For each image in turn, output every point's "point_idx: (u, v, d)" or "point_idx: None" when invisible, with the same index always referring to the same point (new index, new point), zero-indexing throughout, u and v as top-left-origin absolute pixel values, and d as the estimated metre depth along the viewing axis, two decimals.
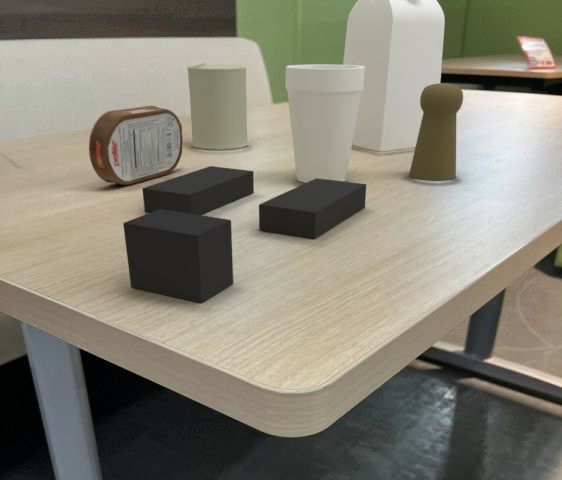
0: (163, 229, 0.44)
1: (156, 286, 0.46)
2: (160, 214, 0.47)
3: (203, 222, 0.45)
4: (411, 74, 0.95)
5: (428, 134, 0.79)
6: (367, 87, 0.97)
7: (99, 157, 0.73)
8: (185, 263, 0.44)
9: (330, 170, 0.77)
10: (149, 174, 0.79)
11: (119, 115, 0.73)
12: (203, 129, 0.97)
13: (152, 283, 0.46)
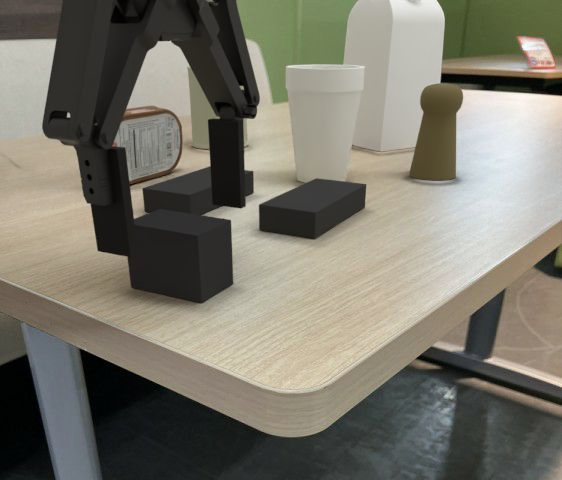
0: (163, 229, 0.44)
1: (156, 286, 0.46)
2: (160, 214, 0.47)
3: (203, 222, 0.45)
4: (411, 74, 0.95)
5: (428, 134, 0.79)
6: (367, 87, 0.97)
7: None
8: (185, 263, 0.44)
9: (330, 170, 0.77)
10: (149, 174, 0.79)
11: None
12: (203, 129, 0.97)
13: (152, 283, 0.46)
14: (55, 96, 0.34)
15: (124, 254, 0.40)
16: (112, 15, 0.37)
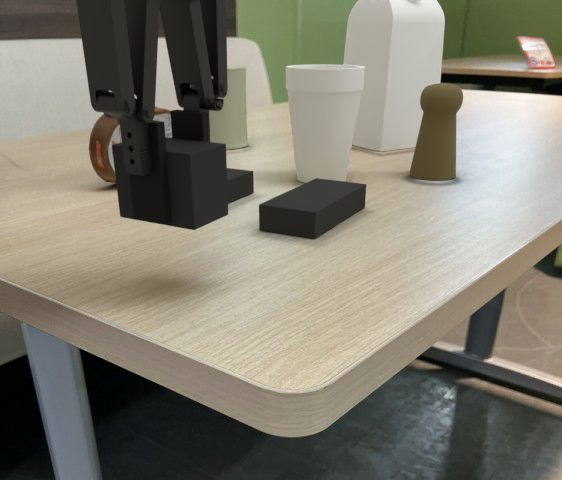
0: None
1: None
2: None
3: (196, 145, 0.43)
4: (411, 74, 0.95)
5: (428, 134, 0.79)
6: (367, 87, 0.97)
7: (99, 157, 0.73)
8: (176, 186, 0.42)
9: (330, 170, 0.77)
10: None
11: None
12: None
13: None
14: (95, 76, 0.36)
15: (159, 222, 0.43)
16: None
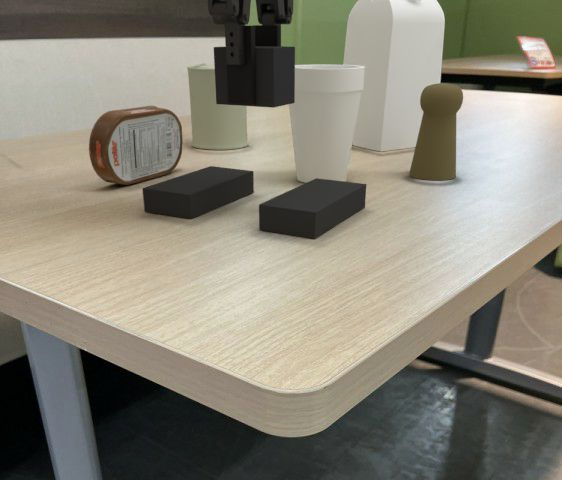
0: None
1: None
2: None
3: None
4: (411, 74, 0.95)
5: (428, 134, 0.79)
6: (367, 87, 0.97)
7: (99, 157, 0.73)
8: (262, 74, 0.58)
9: (330, 170, 0.77)
10: (149, 174, 0.79)
11: (119, 115, 0.73)
12: (203, 129, 0.97)
13: None
14: None
15: (248, 102, 0.59)
16: None
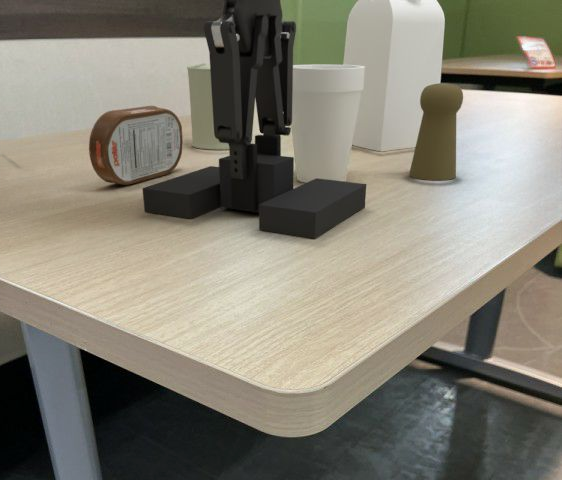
0: None
1: None
2: None
3: (275, 158, 0.64)
4: (411, 74, 0.95)
5: (428, 134, 0.79)
6: (367, 87, 0.97)
7: (99, 157, 0.73)
8: (263, 185, 0.63)
9: (330, 170, 0.77)
10: (149, 174, 0.79)
11: (119, 115, 0.73)
12: (203, 129, 0.97)
13: None
14: (218, 116, 0.58)
15: (250, 209, 0.64)
16: None
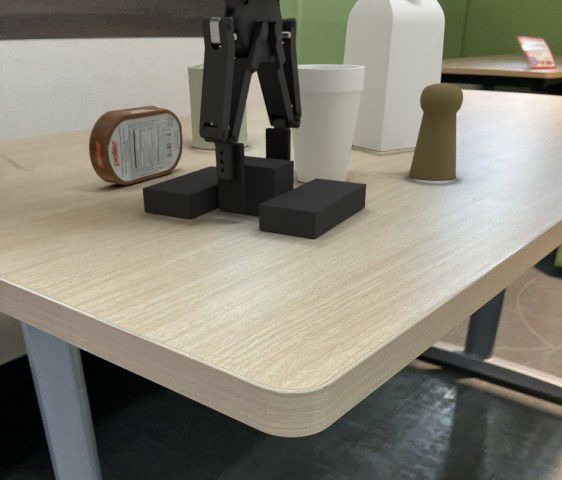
0: (249, 165, 0.63)
1: None
2: None
3: (275, 162, 0.65)
4: (411, 74, 0.95)
5: (428, 134, 0.79)
6: (367, 87, 0.97)
7: (99, 157, 0.73)
8: (263, 189, 0.63)
9: (330, 170, 0.77)
10: (149, 174, 0.79)
11: (119, 115, 0.73)
12: None
13: None
14: (206, 113, 0.56)
15: (237, 211, 0.62)
16: None
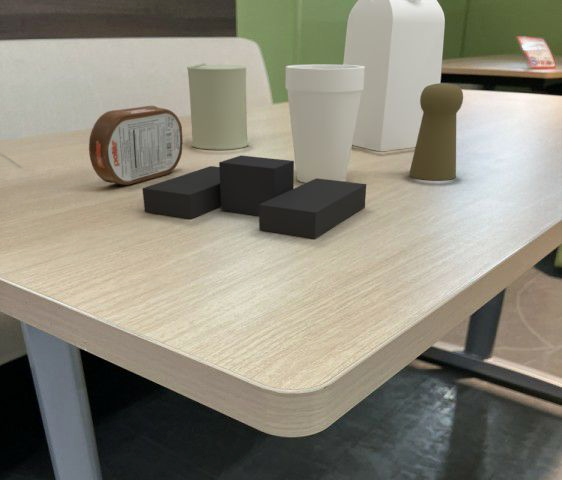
0: (249, 165, 0.63)
1: (240, 208, 0.66)
2: (242, 158, 0.66)
3: (275, 162, 0.65)
4: (411, 74, 0.95)
5: (428, 134, 0.79)
6: (367, 87, 0.97)
7: (99, 157, 0.73)
8: (263, 189, 0.63)
9: (330, 170, 0.77)
10: (149, 174, 0.79)
11: (119, 115, 0.73)
12: (203, 129, 0.97)
13: (238, 206, 0.66)
14: None
15: None
16: None
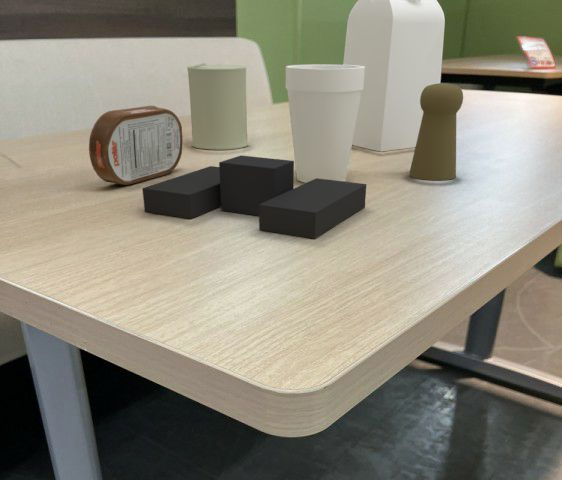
0: (249, 165, 0.63)
1: (240, 208, 0.66)
2: (242, 158, 0.66)
3: (275, 162, 0.65)
4: (411, 74, 0.95)
5: (428, 134, 0.79)
6: (367, 87, 0.97)
7: (99, 157, 0.73)
8: (263, 189, 0.63)
9: (330, 170, 0.77)
10: (149, 174, 0.79)
11: (119, 115, 0.73)
12: (203, 129, 0.97)
13: (238, 206, 0.66)
14: None
15: None
16: None
